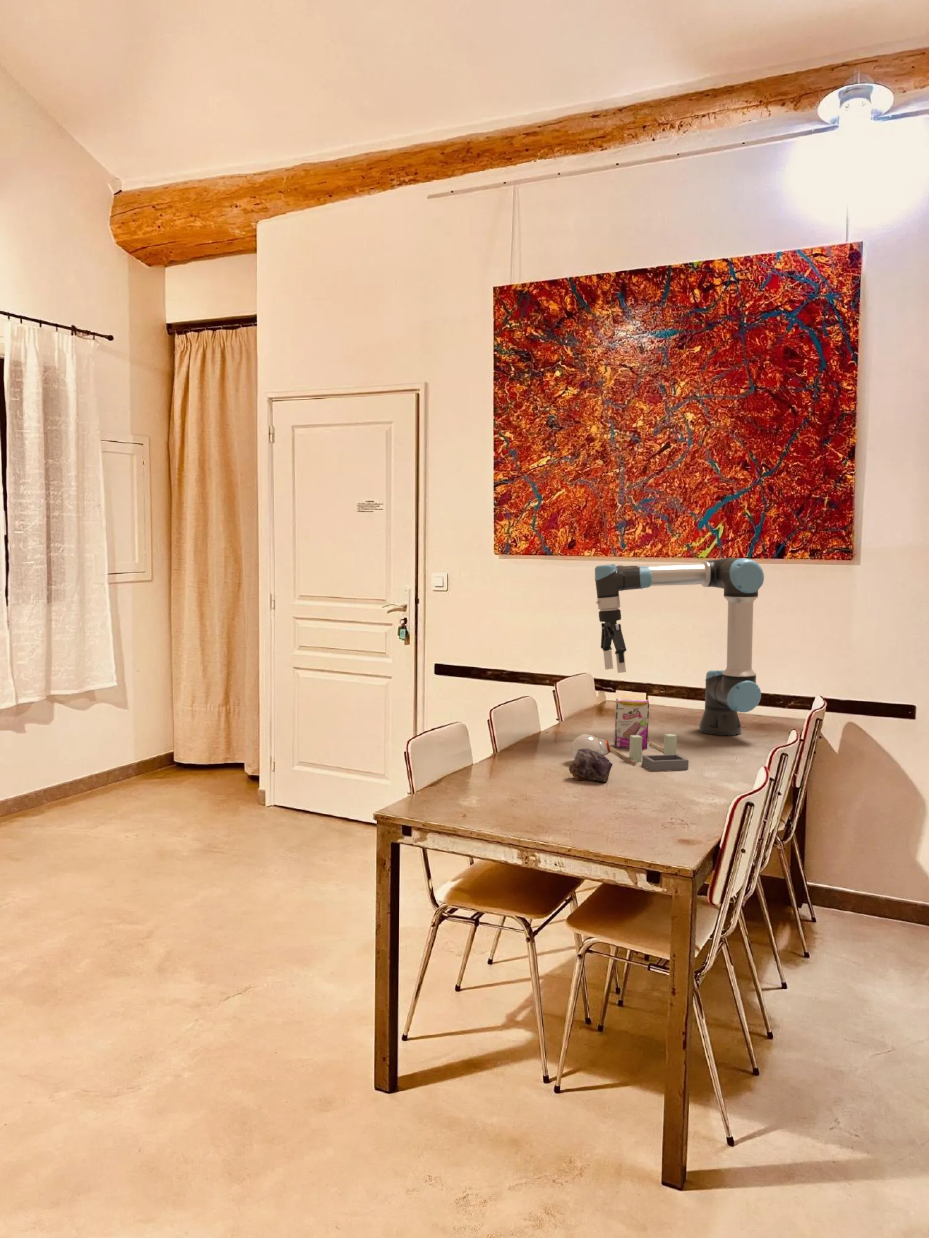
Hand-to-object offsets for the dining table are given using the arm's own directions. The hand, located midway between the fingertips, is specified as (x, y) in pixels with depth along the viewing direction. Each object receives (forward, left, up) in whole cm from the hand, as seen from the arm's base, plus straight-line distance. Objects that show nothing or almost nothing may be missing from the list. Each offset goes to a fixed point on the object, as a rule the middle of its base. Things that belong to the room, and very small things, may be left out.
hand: (615, 670), depth 333 cm
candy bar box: (-4, +6, -26) cm, 27 cm away
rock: (+24, +44, -26) cm, 56 cm away
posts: (-4, +24, -26) cm, 36 cm away
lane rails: (-4, +17, -26) cm, 31 cm away
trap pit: (-4, +34, -26) cm, 43 cm away
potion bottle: (+17, +23, -26) cm, 38 cm away
